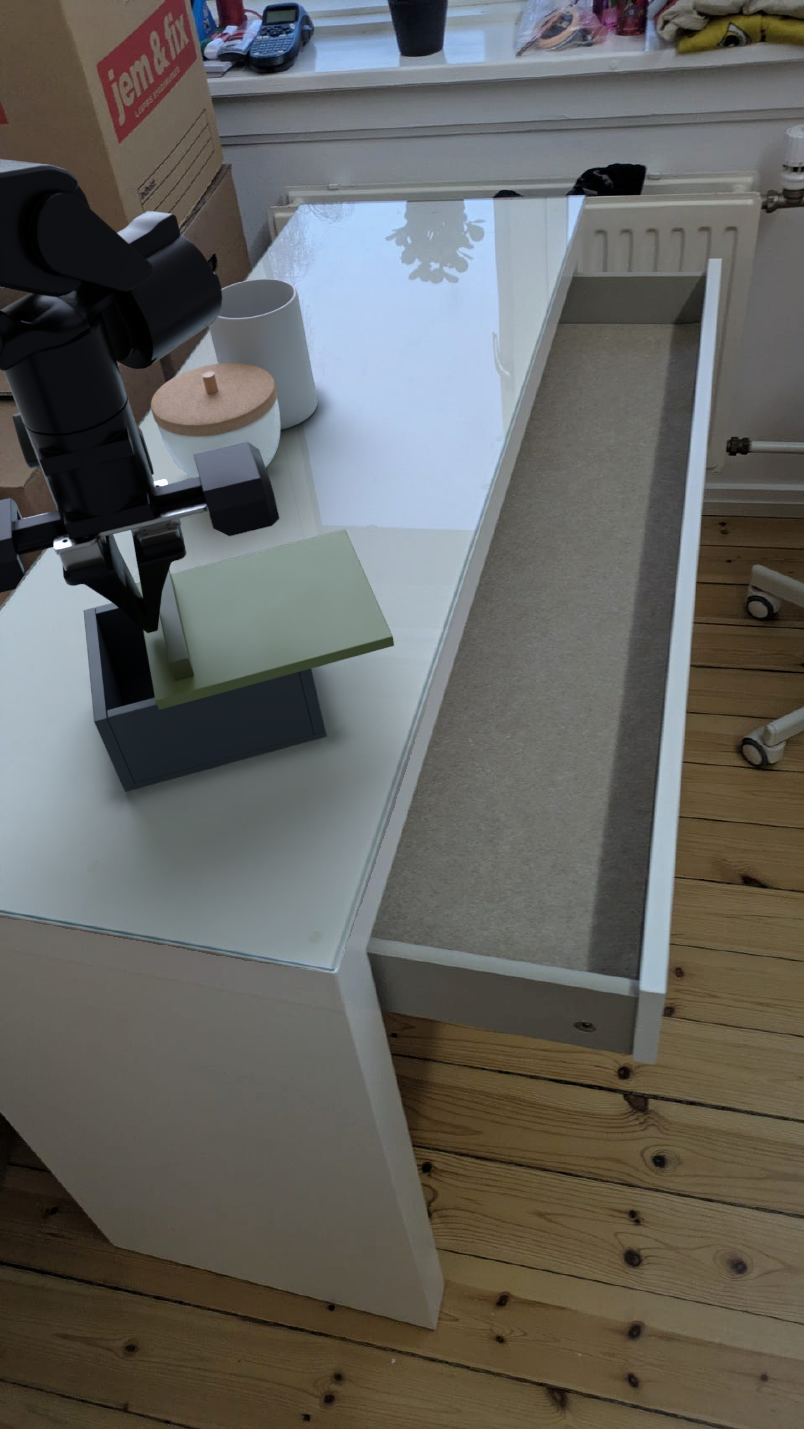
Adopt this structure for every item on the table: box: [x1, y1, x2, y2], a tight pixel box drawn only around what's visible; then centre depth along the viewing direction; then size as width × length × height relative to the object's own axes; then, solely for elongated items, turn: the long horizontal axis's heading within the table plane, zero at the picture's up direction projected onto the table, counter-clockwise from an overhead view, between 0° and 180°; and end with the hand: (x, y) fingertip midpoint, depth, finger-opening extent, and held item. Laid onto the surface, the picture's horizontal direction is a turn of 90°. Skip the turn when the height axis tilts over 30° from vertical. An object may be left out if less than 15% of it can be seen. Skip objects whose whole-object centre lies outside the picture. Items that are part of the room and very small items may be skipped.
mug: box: [208, 278, 319, 431], centre depth 102 cm, size 12×8×11 cm
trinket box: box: [150, 363, 282, 479], centre depth 95 cm, size 11×11×9 cm
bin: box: [83, 602, 328, 793], centre depth 74 cm, size 14×12×6 cm
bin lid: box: [135, 528, 395, 710], centre depth 71 cm, size 15×13×2 cm
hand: (152, 628), depth 70 cm, fingers closed
